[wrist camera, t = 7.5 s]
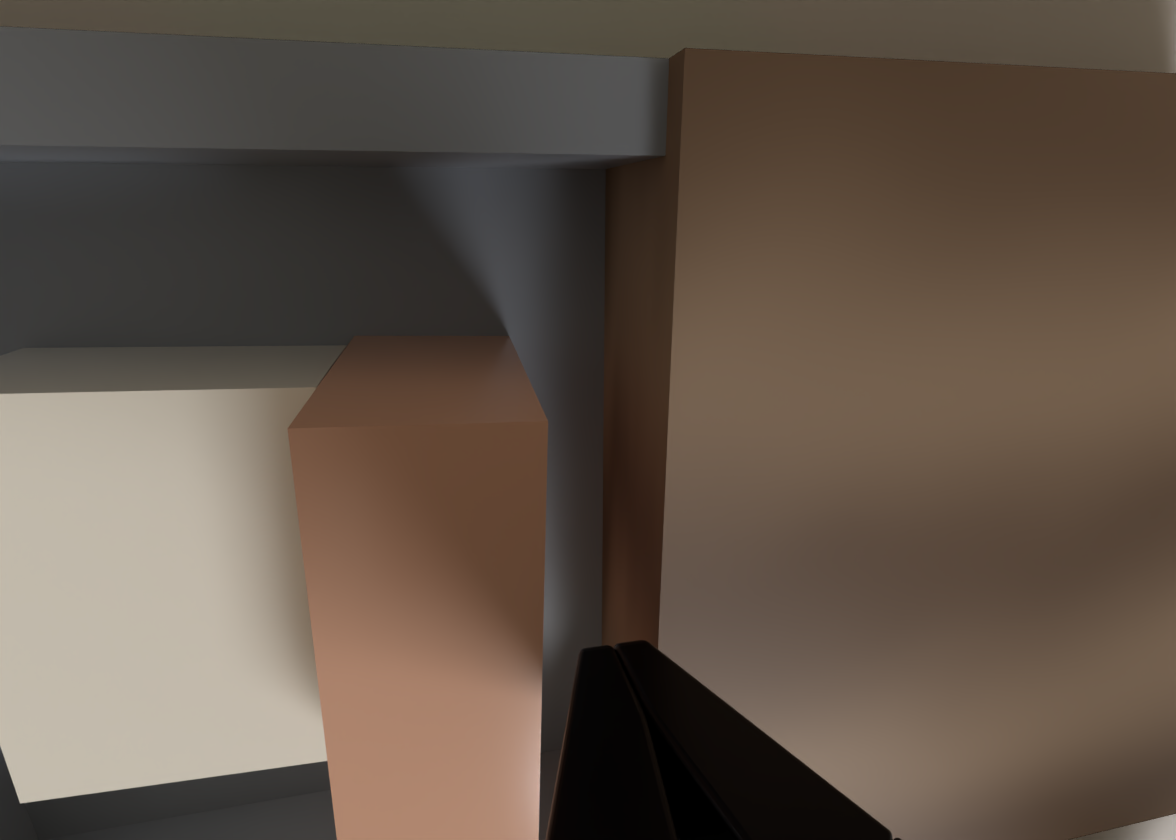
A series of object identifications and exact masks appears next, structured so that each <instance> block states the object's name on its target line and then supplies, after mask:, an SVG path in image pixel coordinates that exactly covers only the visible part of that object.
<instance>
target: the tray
mask: <svg viewBox="0 0 1176 840" xmlns="http://www.w3.org/2000/svg"><path fill="white" fill-rule="evenodd" d="M668 77H669V59H668V58H648V57H627V56H606V55H585V54H564V53H544V52H523V51H502V50H481V49H460V48H440V47H419V46H398V45H377V44H356V43H336V42H315V41H294V40H273V39H252V38H232V37H211V36H190V35H169V34H148V33H128V32H107V31H86V30H65V29H44V28H24V27H3V26H0V356H1V355H4V354H7V353H10V352H13V351H16V350H19V349H22V348H73V347H200V346H328V345H348V344H349V342H350V341H351V340H352V338H353V337H354V336H509V337H510V339H511V341H512V343H513V345H514V348H515V350H516V352H517V354H518V356H519V359H520V361H521V363H522V365H523V367H524V370H525V372H526V374H527V376H528V378H529V380H530V383H531V385H532V387H533V389H534V391H535V394H536V396H537V398H538V400H539V402H540V404H541V407H542V409H543V411H544V413H545V415H546V418H547V420H548V449H547V492H546V536H545V580H544V624H543V668H542V711H541V755H540V799H539V840H545V839H546V833H547V828H548V822H549V817H550V811H551V805H552V800H553V794H554V788H555V783H556V777H557V771H558V766H559V760H560V755H561V749H562V743H563V738H564V732H565V726H566V721H567V715H568V709H569V704H570V698H571V693H572V687H573V681H574V676H575V670H576V664H577V659H578V654H579V651H580V650H581V649H583V648H587V647H594V646H601V645H602V544H603V425H604V305H605V186H606V169H609V168H613V167H617V166H622V165H626V164H631V163H635V162H640V161H644V160H648V159H653V158H657V157H662V156H666V131H667V104H668ZM0 840H337V837H336V828H335V820H334V812H333V803H332V795H331V787H330V778H329V770H328V762H327V761H323V762H316V763H308V764H301V765H294V766H287V767H279V768H272V769H265V770H258V771H251V772H243V773H236V774H229V775H222V776H215V777H207V778H200V779H193V780H186V781H179V782H171V783H164V784H157V785H150V786H143V787H135V788H128V789H121V790H114V791H107V792H99V793H92V794H85V795H78V796H71V797H63V798H56V799H49V800H42V801H35V802H27V803H20V802H19V799H18V796H17V793H16V790H15V787H14V784H13V781H12V778H11V776H10V773H9V770H8V767H7V764H6V761H5V758H4V755H3V753H2V750H1V747H0Z"/></svg>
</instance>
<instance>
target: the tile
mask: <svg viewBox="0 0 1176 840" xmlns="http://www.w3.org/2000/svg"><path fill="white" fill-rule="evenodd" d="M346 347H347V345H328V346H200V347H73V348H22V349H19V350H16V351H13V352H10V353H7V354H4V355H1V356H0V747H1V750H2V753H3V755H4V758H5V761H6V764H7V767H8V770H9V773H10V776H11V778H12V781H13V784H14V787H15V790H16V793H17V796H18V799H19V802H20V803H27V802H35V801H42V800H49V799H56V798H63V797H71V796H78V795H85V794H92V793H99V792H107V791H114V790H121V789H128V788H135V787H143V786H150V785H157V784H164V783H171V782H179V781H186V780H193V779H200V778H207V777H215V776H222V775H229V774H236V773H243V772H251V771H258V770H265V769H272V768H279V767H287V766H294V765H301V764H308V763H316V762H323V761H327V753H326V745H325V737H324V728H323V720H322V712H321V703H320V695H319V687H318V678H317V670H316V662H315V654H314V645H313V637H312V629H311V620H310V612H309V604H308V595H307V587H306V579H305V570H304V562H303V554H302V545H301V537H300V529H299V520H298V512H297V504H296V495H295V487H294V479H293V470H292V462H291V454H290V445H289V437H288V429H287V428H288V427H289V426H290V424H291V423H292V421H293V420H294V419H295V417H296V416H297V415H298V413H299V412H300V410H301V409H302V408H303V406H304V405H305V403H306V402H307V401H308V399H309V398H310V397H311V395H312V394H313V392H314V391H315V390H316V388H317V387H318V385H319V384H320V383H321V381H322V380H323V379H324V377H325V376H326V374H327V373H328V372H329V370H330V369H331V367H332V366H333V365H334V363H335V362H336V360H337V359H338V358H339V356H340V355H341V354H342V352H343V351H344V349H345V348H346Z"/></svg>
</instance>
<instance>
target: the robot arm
mask: <svg viewBox="0 0 1176 840" xmlns="http://www.w3.org/2000/svg"><path fill="white" fill-rule="evenodd" d="M545 840H902V839H901V838H898V837H897V838H894V839H893V837H892V833H891V831H890V830H889V829H887V828H886V827H885V826H884V825H882V824H881V823H880V822H878V821H877V820H876V819H875V818H873V817H872V816H871V815H870V814H868V813H867V812H866V811H864V810H863V809H862V808H861V807H859V806H858V805H857V804H855V803H854V802H853V801H852V800H850V799H849V798H848V797H846V796H845V795H844V794H843V793H841V792H840V791H839V790H838V789H836V788H835V787H834V786H832V785H831V784H830V783H829V782H827V781H826V780H825V779H823V778H822V777H821V776H820V775H818V774H817V773H816V772H814V771H813V770H812V769H811V768H809V767H808V766H807V765H806V764H804V763H803V762H802V761H800V760H799V759H798V758H797V757H795V756H794V755H793V754H791V753H790V752H789V751H788V750H786V749H785V748H784V747H783V746H781V745H780V744H779V743H777V742H776V741H775V740H774V739H772V738H771V737H770V736H768V735H767V734H766V733H765V732H763V731H762V730H761V729H759V728H758V727H757V726H756V725H754V724H753V723H752V722H751V721H749V720H748V719H747V718H745V717H744V716H743V715H742V714H740V713H739V712H738V711H736V710H735V709H734V708H733V707H731V706H730V705H729V704H727V703H726V702H725V701H724V700H722V699H721V698H720V697H719V696H717V695H716V694H715V693H713V692H712V691H711V690H710V689H708V688H707V687H706V686H704V685H703V684H702V683H701V682H699V681H698V680H697V679H696V678H694V677H693V676H692V675H690V674H689V673H688V672H687V671H685V670H684V669H683V668H681V667H680V666H679V665H678V664H676V663H675V662H674V661H672V660H671V659H670V658H669V657H667V656H666V655H665V654H664V653H662V652H661V651H660V650H658V649H657V648H656V647H655V646H653V645H652V644H651V643H649V642H648V641H645V640H636V641H629V642H622V643H617V644H616V645H615V646H614V647H611V646H609V645H601V646H594V647H587V648H583V649H581V650H580V651H579V654H578V659H577V664H576V670H575V676H574V681H573V687H572V693H571V698H570V704H569V709H568V715H567V721H566V726H565V732H564V738H563V743H562V749H561V755H560V760H559V766H558V771H557V777H556V783H555V788H554V794H553V800H552V805H551V811H550V817H549V822H548V828H547V833H546V839H545Z"/></svg>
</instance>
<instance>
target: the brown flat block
mask: <svg viewBox="0 0 1176 840" xmlns="http://www.w3.org/2000/svg"><path fill="white" fill-rule="evenodd" d="M636 640H645V641H648V642H649V643H651V644H652V645H653V646H655V647H656V648H657V649H658V650H660V651H661V652H662V653H664V654H665V655H666V656H667V657H669V658H670V659H671V660H672V661H674V662H675V663H676V664H678V665H679V666H680V667H681V668H683V669H684V670H685V671H687V672H688V673H689V674H690V675H692V676H693V677H694V678H696V679H697V680H698V681H699V682H701V683H702V684H703V685H704V686H706V687H707V688H708V689H710V690H711V691H712V692H713V693H715V694H716V695H717V696H719V697H720V698H721V699H722V700H724V701H725V702H726V703H727V704H729V705H730V706H731V707H733V708H734V709H735V710H736V711H738V712H739V713H740V714H742V715H743V716H744V717H745V718H747V719H748V720H749V721H751V722H752V723H753V724H754V725H756V726H757V727H758V728H759V729H761V730H762V731H763V732H765V733H766V734H767V735H768V736H770V737H771V738H772V739H774V740H775V741H776V742H777V743H779V744H780V745H781V746H783V747H784V748H785V749H786V750H788V751H789V752H790V753H791V754H793V755H794V756H795V757H797V758H798V759H799V760H800V761H802V762H803V763H804V764H806V765H807V766H808V767H809V768H811V769H812V770H813V771H814V772H816V773H817V774H818V775H820V776H821V777H822V778H823V779H825V780H826V781H827V782H829V783H830V784H831V785H832V786H834V787H835V788H836V789H838V790H839V791H840V792H841V793H843V794H844V795H845V796H846V797H848V798H849V799H850V800H852V801H853V802H854V803H855V804H857V805H858V806H859V807H861V808H862V809H863V810H864V811H866V812H867V813H868V814H870V815H871V816H872V817H873V818H875V819H876V820H877V821H878V822H880V823H881V824H882V825H884V826H885V827H886V828H887V829H889V830H890V831H891V833H892V837H893V839H894V838H897V837H898V838H901V839H902V840H1069V839H1074V838H1078V837H1082V836H1086V835H1090V834H1094V833H1098V832H1102V831H1106V830H1110V829H1115V828H1119V827H1123V826H1127V825H1131V824H1135V823H1139V822H1143V821H1147V820H1152V819H1156V818H1160V817H1164V816H1168V815H1172V814H1176V74H1175V73H1156V72H1137V71H1117V70H1098V69H1079V68H1059V67H1040V66H1021V65H1002V64H982V63H963V62H944V61H924V60H905V59H886V58H866V57H847V56H828V55H809V54H789V53H770V52H751V51H731V50H712V49H693V48H684V49H683V50H681V51H680V52H678V53H677V54H675V55H674V56H672V57H671V58H669V77H668V104H667V131H666V156H662V157H657V158H653V159H648V160H644V161H640V162H635V163H631V164H626V165H622V166H617V167H613V168H609V169H606V186H605V305H604V425H603V544H602V645H609V646H611V647H614V646H615V645H616V644H617V643H622V642H629V641H636Z"/></svg>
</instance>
